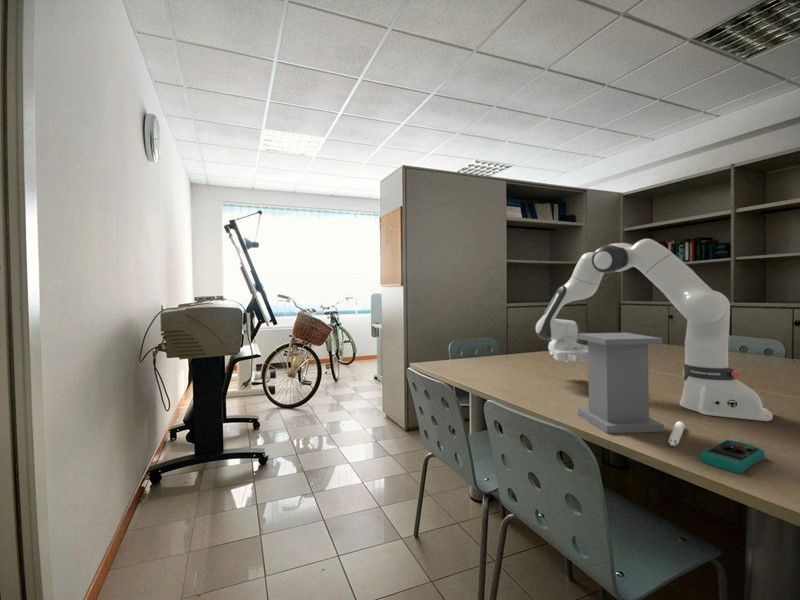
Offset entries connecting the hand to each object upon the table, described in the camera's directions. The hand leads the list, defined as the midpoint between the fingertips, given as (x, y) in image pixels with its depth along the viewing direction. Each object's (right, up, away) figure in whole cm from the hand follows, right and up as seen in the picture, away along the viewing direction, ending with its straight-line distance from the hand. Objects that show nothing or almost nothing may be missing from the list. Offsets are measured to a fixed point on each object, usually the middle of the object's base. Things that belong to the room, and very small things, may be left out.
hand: (589, 358), depth 144 cm
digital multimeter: (+3, -15, -59) cm, 61 cm away
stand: (-9, -14, -34) cm, 38 cm away
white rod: (0, -14, -46) cm, 48 cm away
